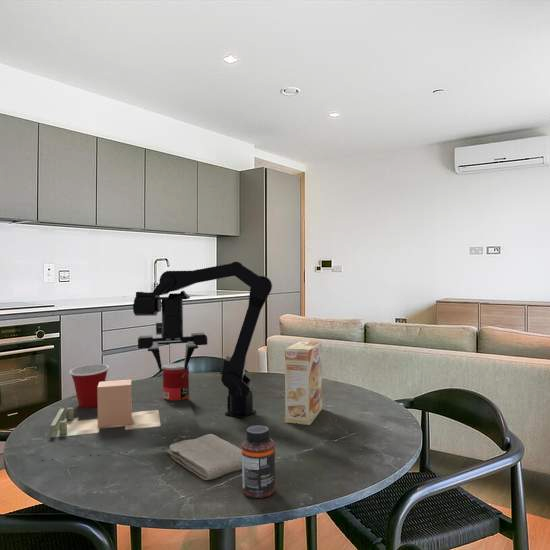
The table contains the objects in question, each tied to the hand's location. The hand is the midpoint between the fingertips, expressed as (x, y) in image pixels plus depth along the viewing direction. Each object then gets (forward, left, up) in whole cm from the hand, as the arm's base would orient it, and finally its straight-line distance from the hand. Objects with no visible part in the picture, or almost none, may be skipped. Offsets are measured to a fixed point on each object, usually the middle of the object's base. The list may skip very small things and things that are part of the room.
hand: (173, 371), depth 126 cm
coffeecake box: (-32, -18, -12) cm, 39 cm away
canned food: (+9, -10, -12) cm, 18 cm away
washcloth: (-29, +18, -13) cm, 36 cm away
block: (+5, +15, -11) cm, 19 cm away
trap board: (+6, +17, -12) cm, 21 cm away
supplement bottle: (-46, +24, -12) cm, 53 cm away
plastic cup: (+25, +9, -12) cm, 29 cm away
